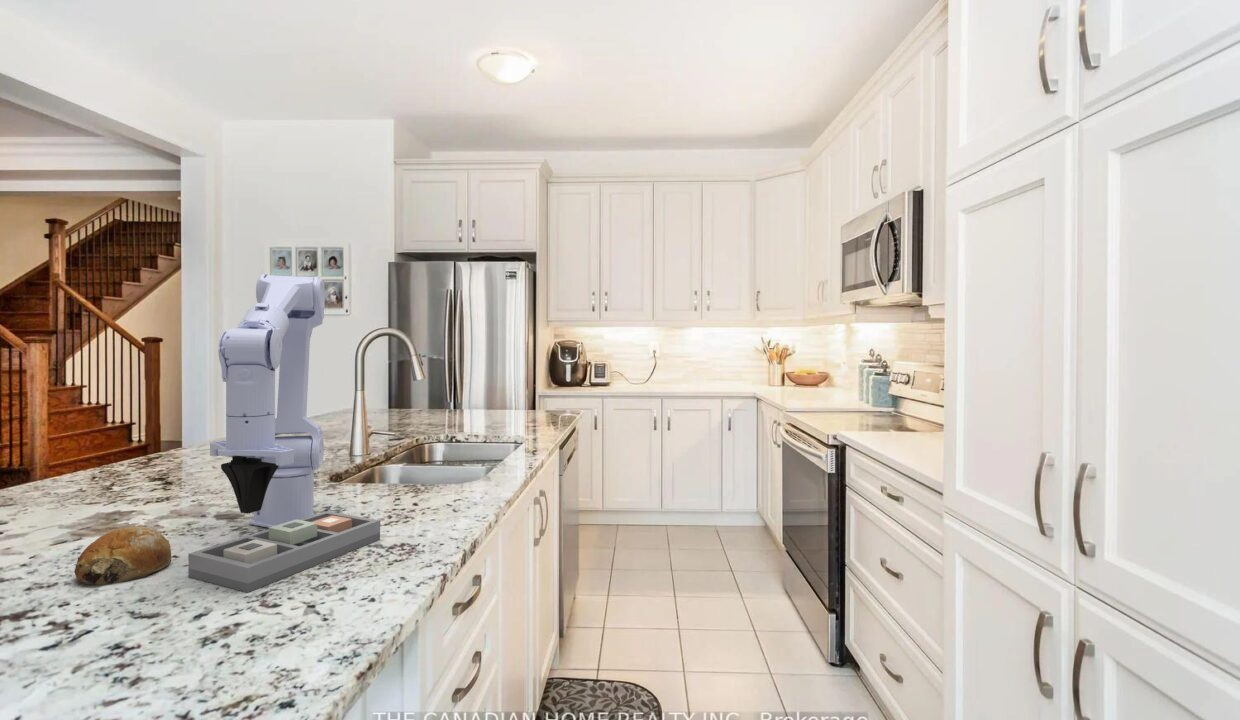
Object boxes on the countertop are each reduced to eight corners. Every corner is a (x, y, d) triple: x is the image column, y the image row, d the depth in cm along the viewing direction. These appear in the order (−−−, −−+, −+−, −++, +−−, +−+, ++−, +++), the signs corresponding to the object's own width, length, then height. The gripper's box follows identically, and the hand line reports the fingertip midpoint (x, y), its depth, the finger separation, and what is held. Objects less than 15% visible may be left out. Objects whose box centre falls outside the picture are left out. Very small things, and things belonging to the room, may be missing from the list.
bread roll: (174, 593, 80) (199, 535, 83) (95, 589, 71) (127, 524, 74) (128, 583, 83) (154, 527, 86) (47, 577, 74) (79, 515, 77)
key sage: (268, 541, 83) (268, 527, 83) (296, 532, 87) (296, 518, 87) (290, 545, 81) (290, 531, 81) (317, 536, 86) (317, 522, 86)
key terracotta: (307, 535, 89) (307, 522, 89) (331, 527, 93) (331, 514, 93) (328, 539, 87) (328, 526, 87) (351, 531, 92) (352, 518, 92)
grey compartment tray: (188, 576, 76) (188, 553, 76) (327, 529, 97) (327, 511, 97) (247, 592, 72) (247, 568, 72) (380, 539, 92) (380, 520, 92)
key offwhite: (223, 564, 77) (223, 548, 77) (255, 553, 81) (255, 538, 81) (245, 569, 75) (245, 554, 75) (276, 558, 80) (277, 543, 80)
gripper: (186, 414, 77) (186, 512, 77) (258, 421, 71) (258, 526, 72) (238, 409, 83) (238, 499, 84) (307, 415, 78) (307, 512, 78)
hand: (250, 511), depth 78 cm, fingers closed
